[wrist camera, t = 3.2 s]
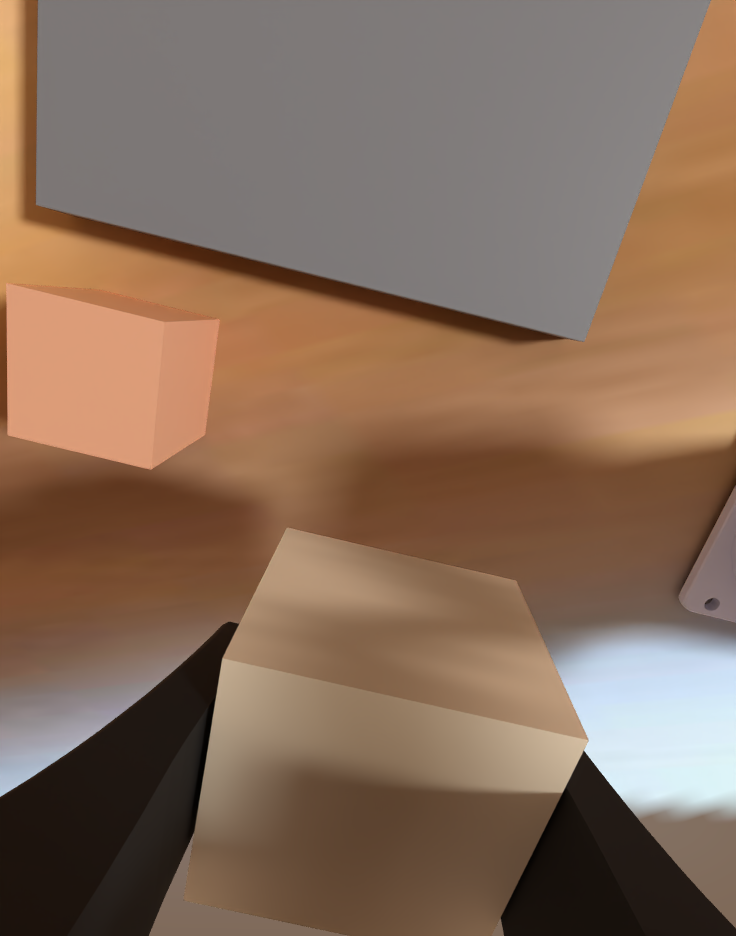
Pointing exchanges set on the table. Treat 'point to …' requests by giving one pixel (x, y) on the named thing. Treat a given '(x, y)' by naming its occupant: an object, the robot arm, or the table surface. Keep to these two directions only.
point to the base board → (370, 137)
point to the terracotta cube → (107, 373)
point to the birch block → (379, 746)
